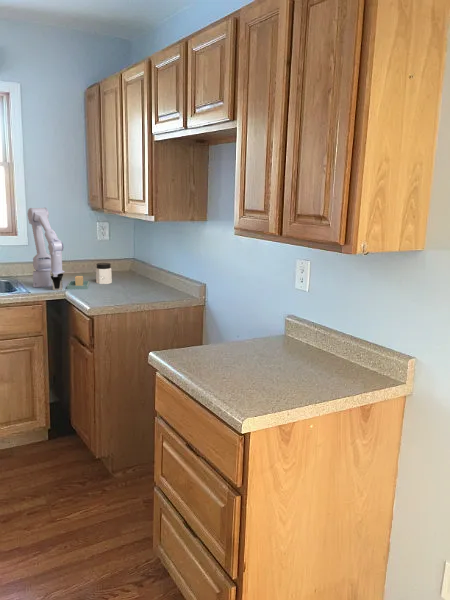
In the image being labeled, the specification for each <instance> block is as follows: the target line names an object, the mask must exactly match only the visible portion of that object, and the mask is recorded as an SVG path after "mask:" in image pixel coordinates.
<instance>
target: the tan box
mask: <svg viewBox="0 0 450 600" xmlns="http://www.w3.org/2000/svg"><path fill="white" fill-rule="evenodd" d="M74 281H75V286H83V281H84V275H76V276H75V277H74Z"/></svg>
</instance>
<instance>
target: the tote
mask: <svg viewBox="0 0 450 600" xmlns="http://www.w3.org/2000/svg"><path fill="white" fill-rule="evenodd" d="M90 284H91V282H90V280H83V286H75V280H69V281H68V284H67V285H66V289H67V290H88V289H89V286H90Z"/></svg>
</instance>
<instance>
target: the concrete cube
mask: <svg viewBox="0 0 450 600" xmlns="http://www.w3.org/2000/svg"><path fill="white" fill-rule="evenodd" d="M51 284H52V291H63V290H64V289H63V279H62V280H60V287H59V289H55V287H54V283H53V280H51Z"/></svg>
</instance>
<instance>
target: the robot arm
mask: <svg viewBox="0 0 450 600" xmlns="http://www.w3.org/2000/svg"><path fill="white" fill-rule="evenodd" d="M49 215H50V213H49V210H48V208H47V207H29V208H28V210H27V219H28V223H29V224H30V225H31V227H32V232H33V238H34V243H35V249H36V254H35V255H34V256H33V258H32V265H33V266H32V267H33V269H34V270H33V272H32V281H33V282H32V283H33V288H43V287H52V286H53V283H54V287H55V289H59V287H60V280H62V281H63V276H64V274H65V270H63V256H62V252H63V251H64V243H63V241H62V240H61V239H59V236H58V235H57V233H56V231H55V230H54V229H52V227H51V223H50V221H49ZM43 230H44V232H43ZM43 233H44V234H43ZM44 238H45V239H46V241H47V243H48V246H47V248H46V243H45V239H44ZM46 249H48V251H49V253H48V252H47V250H46ZM52 281H53V283H52Z"/></svg>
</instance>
